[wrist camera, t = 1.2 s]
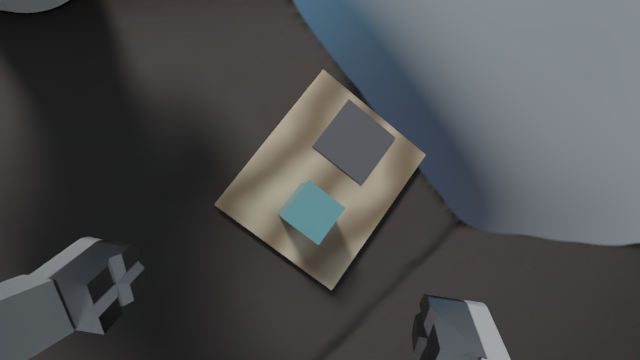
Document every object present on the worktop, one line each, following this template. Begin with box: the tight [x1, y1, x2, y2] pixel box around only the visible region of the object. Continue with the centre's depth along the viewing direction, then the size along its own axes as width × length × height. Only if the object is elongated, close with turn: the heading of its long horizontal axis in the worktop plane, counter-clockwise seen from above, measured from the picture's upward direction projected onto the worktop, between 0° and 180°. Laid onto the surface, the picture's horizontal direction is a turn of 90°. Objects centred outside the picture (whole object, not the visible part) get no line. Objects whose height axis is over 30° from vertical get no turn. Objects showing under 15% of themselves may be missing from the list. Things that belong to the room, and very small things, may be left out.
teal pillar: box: [278, 181, 345, 245], centre depth 34 cm, size 5×5×8 cm
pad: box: [312, 99, 395, 185], centre depth 39 cm, size 8×8×1 cm
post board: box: [214, 70, 425, 291], centre depth 37 cm, size 18×22×6 cm
